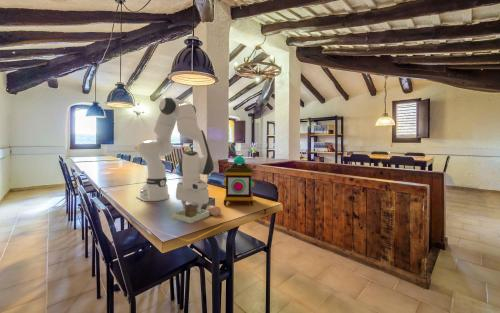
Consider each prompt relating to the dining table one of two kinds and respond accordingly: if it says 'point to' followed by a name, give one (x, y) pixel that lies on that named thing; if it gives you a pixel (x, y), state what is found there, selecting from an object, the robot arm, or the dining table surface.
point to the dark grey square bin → (210, 202)
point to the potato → (213, 210)
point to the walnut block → (190, 210)
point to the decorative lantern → (238, 182)
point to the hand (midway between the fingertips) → (191, 210)
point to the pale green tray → (181, 216)
